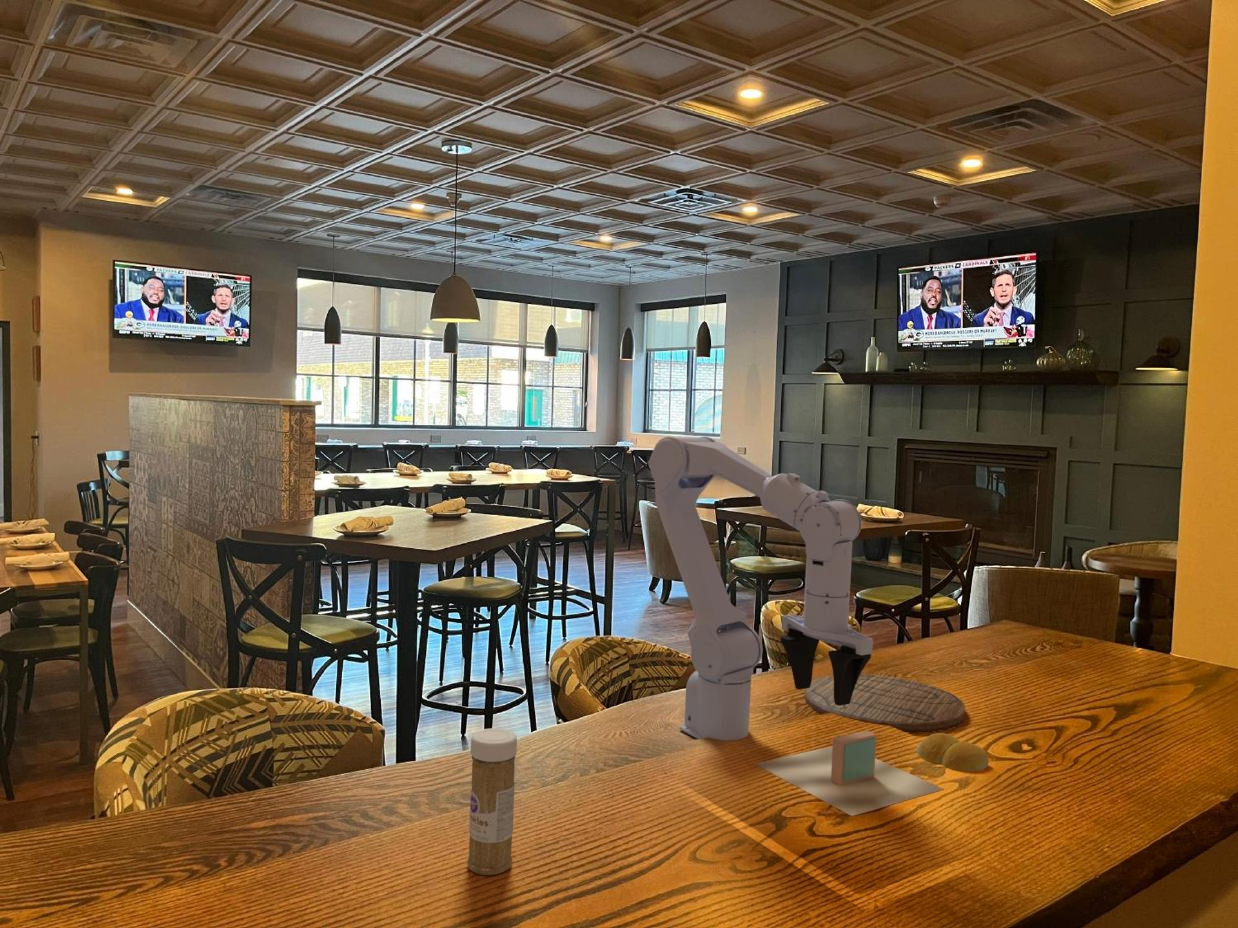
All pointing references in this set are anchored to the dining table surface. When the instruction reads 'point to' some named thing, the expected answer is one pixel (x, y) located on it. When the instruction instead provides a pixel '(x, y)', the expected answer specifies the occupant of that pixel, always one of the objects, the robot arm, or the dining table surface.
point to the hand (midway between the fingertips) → (822, 695)
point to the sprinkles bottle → (492, 801)
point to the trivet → (890, 703)
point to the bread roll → (952, 753)
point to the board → (854, 797)
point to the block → (853, 757)
